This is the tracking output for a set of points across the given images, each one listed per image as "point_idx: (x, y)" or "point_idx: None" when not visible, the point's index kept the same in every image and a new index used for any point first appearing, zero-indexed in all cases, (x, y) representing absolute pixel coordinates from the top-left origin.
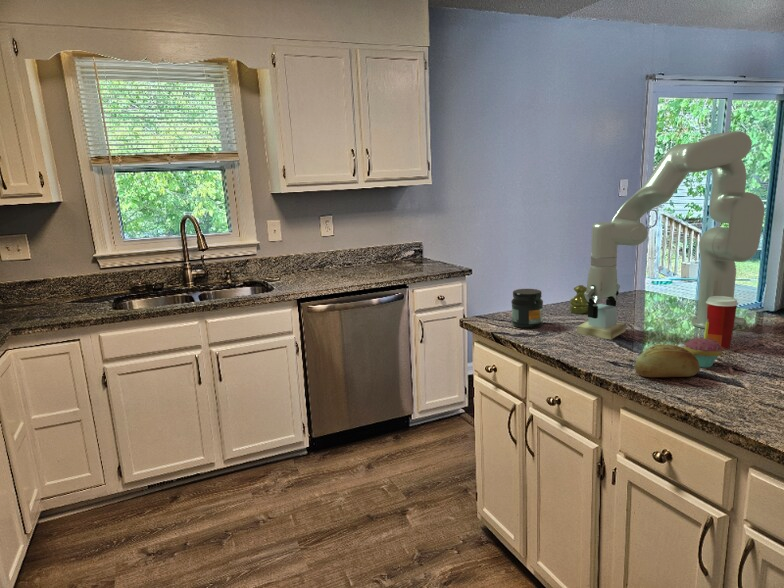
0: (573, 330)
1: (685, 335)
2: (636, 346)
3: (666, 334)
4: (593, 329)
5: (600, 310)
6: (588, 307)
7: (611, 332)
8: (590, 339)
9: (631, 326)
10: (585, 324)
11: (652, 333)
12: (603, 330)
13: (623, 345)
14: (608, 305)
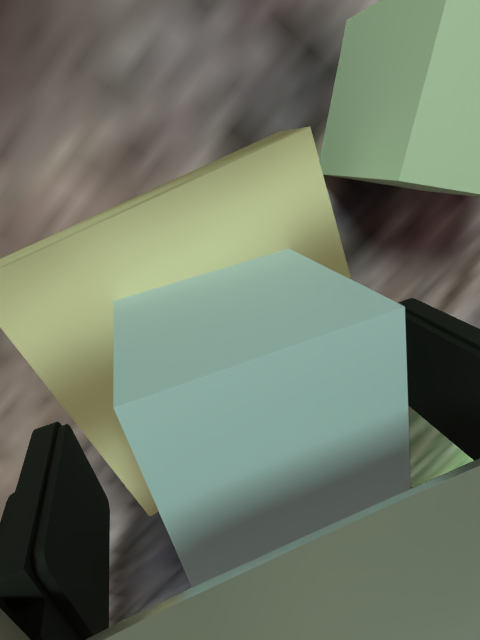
0: (12, 164)
1: None
2: (182, 589)
3: (439, 473)
4: (73, 418)
5: (175, 540)
6: (10, 538)
7: (155, 507)
8: (7, 438)
9: (453, 299)
10: (97, 273)
11: (412, 444)
12: (123, 475)
13: (133, 569)
14: (397, 432)
